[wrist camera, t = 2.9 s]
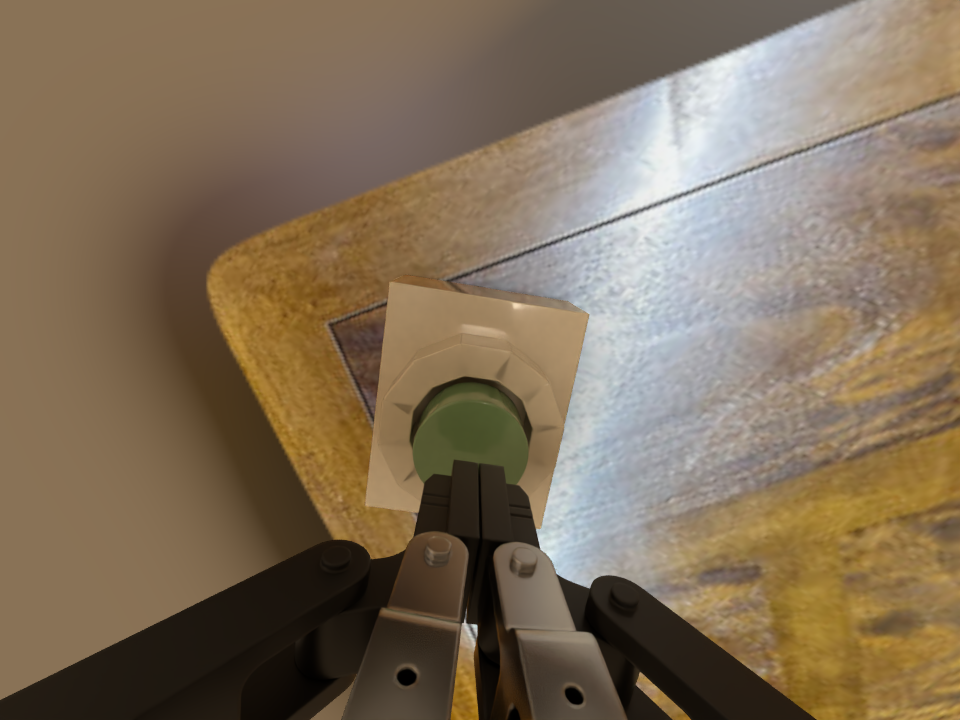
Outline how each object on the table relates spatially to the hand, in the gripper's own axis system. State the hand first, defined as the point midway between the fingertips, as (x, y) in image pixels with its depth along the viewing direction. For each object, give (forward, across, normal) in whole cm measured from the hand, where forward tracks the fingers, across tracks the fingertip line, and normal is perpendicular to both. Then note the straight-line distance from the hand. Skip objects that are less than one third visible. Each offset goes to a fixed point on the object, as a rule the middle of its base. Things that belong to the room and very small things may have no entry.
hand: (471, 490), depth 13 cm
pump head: (+4, 0, 0) cm, 4 cm away
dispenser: (+10, 0, 0) cm, 10 cm away
